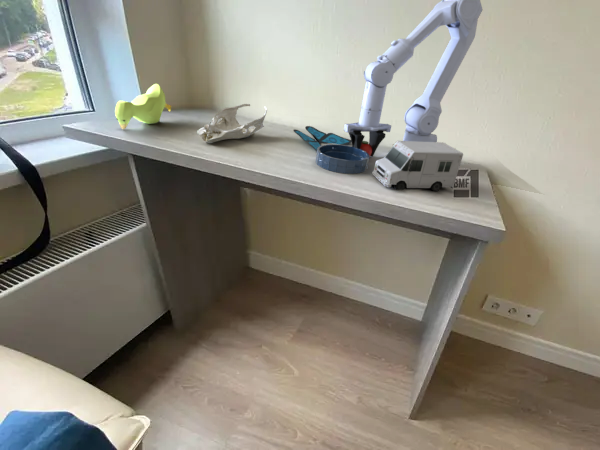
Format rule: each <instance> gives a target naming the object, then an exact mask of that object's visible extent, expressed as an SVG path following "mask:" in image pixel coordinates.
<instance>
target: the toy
mask: <svg viewBox="0 0 600 450" xmlns="http://www.w3.org/2000/svg"><path fill="white" fill-rule="evenodd" d="M164 109H167V112H171V110H172V105H170V104H168V103H167V102H166V94H165V92H164V90H163V88H162V87H161V85H160V84H158V83H153V85H151V86H150V87H149V88H148V89H147V90H146V93H143V94H139V95H137V96H136V97H135V98H134V99H132V100H131V101H126V100H121V99H120V100H118V101H117V102H116V104H115V108H114V115H115V118H116V119H115V120H116V121H118V124H119V127H120V129H121V130H126V129H127V128H128V125H129V123H130V122H131V119H132V118H134V119H135V120H136V121H138V122H140V123H144V124H149V125H150V124H151V125H152V124H157V123H159V122H160V119H161V117H162V114H163V111H164Z"/></svg>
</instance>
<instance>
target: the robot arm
mask: <svg viewBox="0 0 600 450" xmlns="http://www.w3.org/2000/svg"><path fill="white" fill-rule="evenodd" d="M483 11H484V10H483V6H482V2H481V0H441V1H438V2H437V3H436V4H435V5H434V7H433V8H432V9H431V11H430V12H429V13H428V14H427V15H426V16H425V17H424V19H422V20H421V21H420V22H419V24H418V25H416V27H415V28H413V30H412V31H411V32H410V33H409V34H408V35H407V36H406V37H405V38H398V39H397V40H396V39H394V40H393V41H391V43H390V45H391V46H390V47H388V48H387V50H385V52H383V53H382V54H381V55H380V54H379V55H378V56H377V57H376V59H377V60H376V61H375V60H374V61H372V62H370V63H369V64H368V65H367V66H366V69H365V70H363V78H364V80H365V86H364V91H363V95H362V101H361V107H360V114H359V120H358V122H351V123H344V125H343V131H344V132H346V133H348V135H349V138H350V140H351V142H352V143H351V146H352V147H356V148H359V149H360V147H361V144H362V141H364V139H365V138H366V136H365V135H364V134H363V132H364V133H365V132H366V133H369V135H368V136H369V139H368V144H369V145H370V146H371V148H372V154H371V156H370V157H374V156H375V153H376V151H377V149H378V147H379V146H380V144H381V143H382V142H383V140H384V139H385V138H386V135H387V134H386V133H390V132H391V130H392V124H389V123H381V117H382V112H383V107H384V101H385V97H386V92H387V87H388V85H389V84H391V82H392V81H393V78H394V75H395V73H397V71H399V70H400V69H401V68H402V67H403V66H404V65H405V64H406V63H407V62H408V61H409V60H410V59H411V58H413V56H414V51H415V49H416V47H417V46H419V45H420V44H421V43H422V42H423V41H425V39H427V38H428V37H429V36H431V34H433V33H434V32H435V31H436V30H437V29H438V28H439V27H442V26H445V27H446V28H447V29H448V32H449V35H450V39H449V42H448V44H447V46H446V47H445V49H444V51H443V53H442V55H441V57H440V59H439V61H438V63H437V65H436V67H435V69H434V71H433V73H432V75H431V77H430V79H429V80H428V83H427V85H426V87H425V89H424V91H423V93H422V94H421V95H420V96H419V97H417V98H416V99H415V100H414V101H413V103H412V104H411V106H410V107H408V108H407V110H406V111H405V113H404V115H403V116H404V117H403V121H404V123H405V124H406V125H405V131H404V134H403V138H402V141H416V142H438V135H437V134H433V132H435V130H436V129H437V128H438V125H439V120H440V116H441V114H442V112H443V110H442V105H441V102H442V100H443V98H444V97H445V95H446V92H447V90H448V89H449V87H450V85H451V84H452V81H453V80H454V78H455V76H456V75H457V72H458V70H459V68H460V66H461V64H462V62H463V60H464V59H465V57H466V55H467V53H468V51H469V49H470V48H471V46H472V44H473V42H474V39H475V38H476V33H477V26H478V21H479V18H480V16H481V14H482V13H483ZM385 132H386V133H385Z"/></svg>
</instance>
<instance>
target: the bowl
mask: <svg viewBox="0 0 600 450" xmlns="http://www.w3.org/2000/svg"><path fill="white" fill-rule="evenodd" d="M321 145H322V146H319V147H318V148H317V151H316V153H315V163H316V165H317V166H318V167H320V168H322V169H324V170H327V171H329V172H334V173H338V174H347V175H349V174H350V175H354V174H362V173H364V172H366V171H367V170H368V166H369V161H370V157H369V154H368V153H367V152H366V151H364V150H362V149H359V148H356V147H352V145H340V144H321Z"/></svg>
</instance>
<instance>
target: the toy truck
mask: <svg viewBox="0 0 600 450" xmlns="http://www.w3.org/2000/svg"><path fill="white" fill-rule="evenodd" d="M463 156H464V152H462V151H460V150H458V149H456V148H454V147H453V146H450V145H449V144H447V143H445V142H444V141H443V142H441V141H440V142H439V141H437V142H416V141H403V140H397V141H395V143H393V145H392V147H391V148H390V150H389V151H388V152H387V153H386V155H385V156H384V157H382V158H379V159H377V160H375V164H374V168H373V170H372V173H371V174H372V175H373V176H374V177H375V178H376V179H377V180H378V181H379V182H380V183H381V184H382V185H383V186H384V187H386V188H391V187H392V185H394V186H393V188H394V189H395V190H397V191H403V190H404V189H405V188H406V189H430V190H431V191H433V192H438V191H439V190H440V189H441V188H450V189H454V186H455V183H456V180H457V177H458V173H459V170H460V166H461V163H462V161H463Z"/></svg>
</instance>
